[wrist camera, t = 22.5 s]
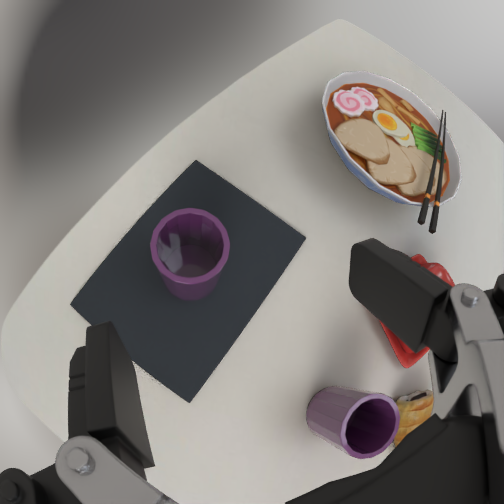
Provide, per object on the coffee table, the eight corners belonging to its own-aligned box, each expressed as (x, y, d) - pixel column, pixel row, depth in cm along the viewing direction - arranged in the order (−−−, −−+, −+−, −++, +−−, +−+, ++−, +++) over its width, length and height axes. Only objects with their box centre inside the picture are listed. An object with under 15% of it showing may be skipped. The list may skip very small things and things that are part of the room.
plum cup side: (313, 445, 29) (348, 469, 21) (300, 397, 30) (333, 410, 22) (361, 425, 30) (404, 439, 22) (349, 378, 32) (393, 382, 24)
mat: (189, 402, 28) (189, 403, 28) (71, 304, 29) (69, 304, 28) (305, 239, 36) (306, 237, 36) (195, 161, 36) (195, 159, 36)
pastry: (427, 447, 30) (445, 452, 27) (387, 465, 29) (404, 473, 25) (425, 385, 33) (444, 386, 29) (385, 400, 32) (403, 403, 28)
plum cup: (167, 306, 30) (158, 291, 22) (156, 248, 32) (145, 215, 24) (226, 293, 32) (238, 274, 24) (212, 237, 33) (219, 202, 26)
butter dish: (450, 323, 36) (494, 313, 28) (398, 373, 33) (445, 373, 25) (415, 252, 38) (456, 230, 31) (357, 293, 35) (399, 276, 27)
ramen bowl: (337, 79, 47) (355, 46, 39) (441, 153, 46) (468, 129, 39) (270, 170, 38) (288, 129, 30) (413, 267, 38) (454, 248, 30)
